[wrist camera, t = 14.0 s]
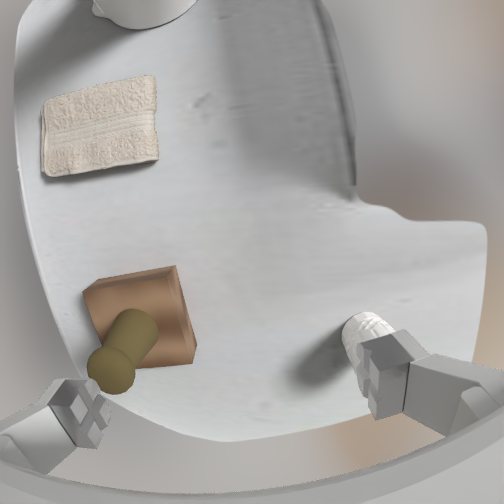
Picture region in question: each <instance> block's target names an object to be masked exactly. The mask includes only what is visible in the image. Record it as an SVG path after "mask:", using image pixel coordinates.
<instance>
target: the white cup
mask: <svg viewBox="0 0 504 504" xmlns="http://www.w3.org/2000/svg"><path fill="white" fill-rule="evenodd" d="M393 332H396V331H395V330H394V329H393V328H392V327H391V326H390V325H388V324H387V323H386V322H385V321H383V320H382V319H381V318H380V317H379V316H377V315H376V314H374V313H372V312H361V313H359V314H357V315H354V316H353V317H352V318H351V319H349V320H348V321H347V322H346V324H345V326H344V328H343V330H342V343H343V345H344V347H345V349H346V353H347V356H348V358H349V360H350V363H351V365H352V367H353V370H354V372H355V374H356V376H357V366H358V365H359V363H360V360H359V359H358V357H357V343H361V342H364V341H368V340H371V339H375V338H378V337H382V336H385V335H388V334H390V333H393Z"/></svg>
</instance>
